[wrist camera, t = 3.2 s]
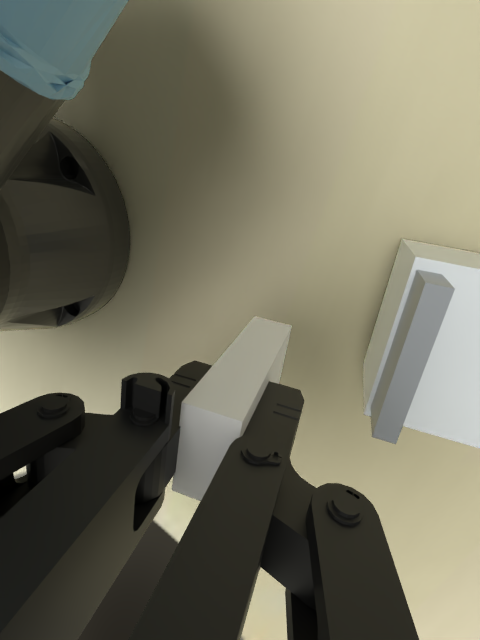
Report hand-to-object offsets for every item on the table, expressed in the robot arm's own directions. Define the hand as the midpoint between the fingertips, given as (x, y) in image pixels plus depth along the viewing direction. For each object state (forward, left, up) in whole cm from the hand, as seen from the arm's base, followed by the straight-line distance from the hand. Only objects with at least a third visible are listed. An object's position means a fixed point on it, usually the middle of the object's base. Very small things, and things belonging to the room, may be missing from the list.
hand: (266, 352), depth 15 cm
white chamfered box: (+10, 0, -11) cm, 14 cm away
